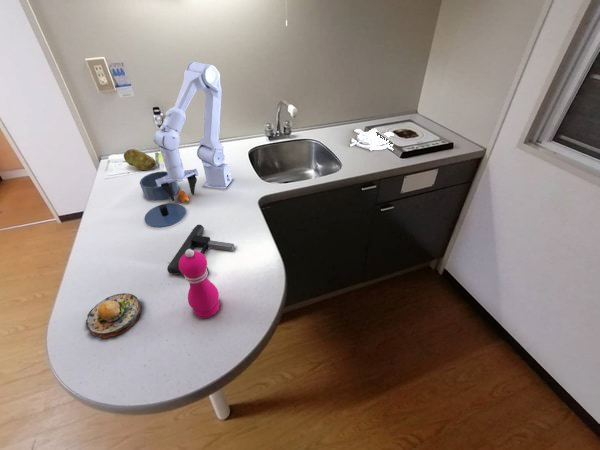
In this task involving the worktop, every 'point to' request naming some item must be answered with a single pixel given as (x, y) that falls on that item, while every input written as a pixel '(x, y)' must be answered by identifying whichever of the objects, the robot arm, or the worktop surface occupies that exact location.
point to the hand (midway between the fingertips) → (183, 196)
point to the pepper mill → (199, 284)
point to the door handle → (196, 241)
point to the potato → (139, 159)
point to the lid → (165, 215)
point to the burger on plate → (113, 315)
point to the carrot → (183, 196)
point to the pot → (156, 192)
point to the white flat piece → (371, 140)
